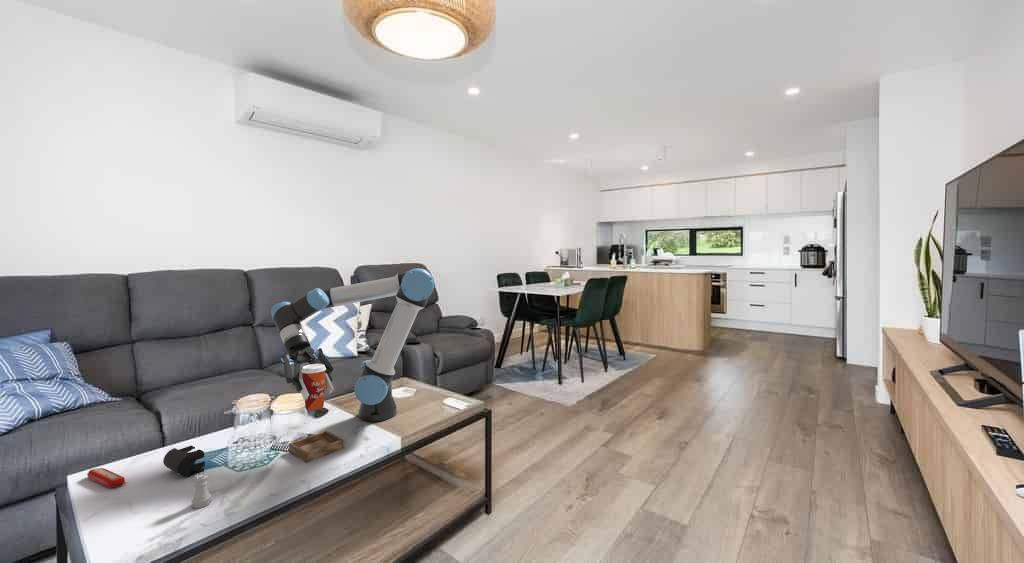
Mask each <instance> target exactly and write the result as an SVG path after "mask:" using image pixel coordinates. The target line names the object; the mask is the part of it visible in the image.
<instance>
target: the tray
mask: <svg viewBox="0 0 1024 563" xmlns="http://www.w3.org/2000/svg"><path fill="white" fill-rule="evenodd" d="M343 449H345V439H344V438H342V437H340V436H338V435H336V434H335V433H332V432H330V431H328V430H325V431H321V432H317V433H315V434H312V435H310V436H309V435H308V436H306V437H303V438H300V439H298V440H295V441H292V442H289V443H288V452H289V453H290V454H292V455H293V456H294V457H296V458H297V459H299V460H301V461H303V462H304V463H305V464H308V463H309V462H313V461H315V460H318V459H320V458H323V457H325V456H328V455H330V454H333V453H335V452H338V451H340V450H343Z"/></svg>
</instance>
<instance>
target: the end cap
mask: <svg viewBox="0 0 1024 563" xmlns="http://www.w3.org/2000/svg"><path fill="white" fill-rule="evenodd" d="M195 449H196V447H195V446H194V445H189V446H185V447H182V448H180V449H178V448H176V447H174V448H171V449H170V450H168V451H167V452H166V454H165V455H164V457H163V460H162V462H163V465H164V467H165V468H167V469H169V470H171V471H173V472H174V473H176V474H177V475H180V476H182V477H185V478H190V477H192V476H196V475H197V474H198V475H199V473H204V472H206V471H205V466H206V461H204V460H203V461H201V462H198V463H197V461H199V460H200V459H203V458H205V451H204V450H201V449H196V450H195ZM192 450H194V451H192Z"/></svg>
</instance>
